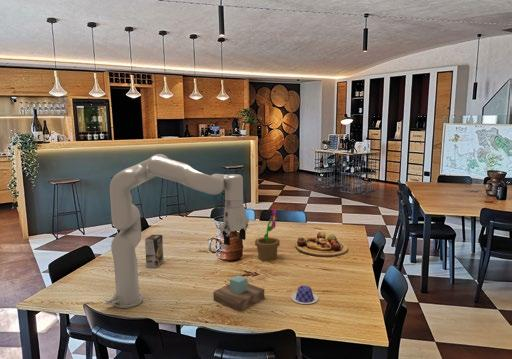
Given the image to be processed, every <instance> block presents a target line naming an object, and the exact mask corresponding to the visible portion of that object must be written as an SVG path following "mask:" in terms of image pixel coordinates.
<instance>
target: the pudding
mask: <svg viewBox="0 0 512 359" xmlns="http://www.w3.org/2000/svg"><path fill="white" fill-rule="evenodd" d="M290 299H291V300H292V301H294V302H295V303H297V304H302V305H303V304H304V305H311V304H314V303H316V302H318V301H319V296H318V295H317V294H316V293H313V290H312V288H311V287H310V286H307V285H300V286H298V288H297V291H296V292H294V293H292V294H291V295H290Z"/></svg>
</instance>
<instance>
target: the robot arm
mask: <svg viewBox="0 0 512 359" xmlns="http://www.w3.org/2000/svg"><path fill="white" fill-rule="evenodd" d="M155 177H158V178H162V179H165V180H168V181H172V182H175V183H179V184H181V185H184V186H186V187H187V188H190V189H192V190H195V191H198V192H202V193H205V194H208V195H215V196H216V195H219V194H221V193H222V192H223V191H224V192H225V193H224V194H225V195H224V196H225V198H224V200H225V202H224V212H223V223H222V224H221V225H220V226H219V227H218V229H219V232H220V234H221V235H222V236H223V245H226V246H230V245H231V236H230V234H231V232H236V231H238V232H239V234H238V235H239V239H240V240H243V241H245V240H246V238H247V237H246V235H247V234H246V231H247V228H248V227H249V222H250V219H248V218H247V213H246V208H245V205H244V179H243V178H244V177H243V176H242V175H241V174H237V173H235V174H233V173H232V174H223V173H222V174H221V173H213V174H211V175H210V174H208V173H207V174H206V173H203V172H201V171H198V170H196V169H194V168H193V167H192V166H190V165H189V164H187V163H185V162H181V161H177V160H174V159H171V158H169V157H168V156H167V155H165V154H163V153H156V154H154V155H152V156H150V157H149V158H147V159H146V160H143V161H141V162H139V163H137V164H134V165H133V166H129V167H127V168H125V169H123V170H120V171H119V172H118V173H116V174H115V175H114V176H113V177H112V179H111V180H110V184H109V197H110V209H111V210H110V213H111V223H112V225H113V227H114V229H116V230H119V232H118V233H117V234H116V235H115V236H114V237H113V239H112V241H111V245H110V248H111V253H112V259H113V269H114V280H115V293H114V294H113V296H112V297H111V298H107V299H106V300H105V304H106V305H110V304H111V305H113V306H114V307H115V308H118V309H129V308H133V307H136V306H139V305H140V304H142V303H143V301H144V295H142V294H141V293H140V285H139V284H140V283H139V271H138V270H139V268H138V258H137V253H136V247H137V246H138V245H139V244H140V242H141V240H142V225H141V224H142V223H141V212H140V210H139V208H138V207H137V206H136V205H135V204H134V203H133V198H132V197H133V196H132V193H131V191H132V189H134V188H136V187H138V186H140V185H141V184H143V183H145V182H147V181H149V180H152V179H154V178H155Z"/></svg>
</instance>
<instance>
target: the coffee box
mask: <svg viewBox="0 0 512 359" xmlns="http://www.w3.org/2000/svg"><path fill="white" fill-rule="evenodd" d="M163 240H164V239H163V234H151V235H150V236H148V237H146V238H145V239H144V244H145V246H144V248H145V249H144V250H145V266H146V268H154V269H157V268H158V267H159V266H161V265H162V264H164V262H165V261H164V244H163V243H164V242H163Z"/></svg>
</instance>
